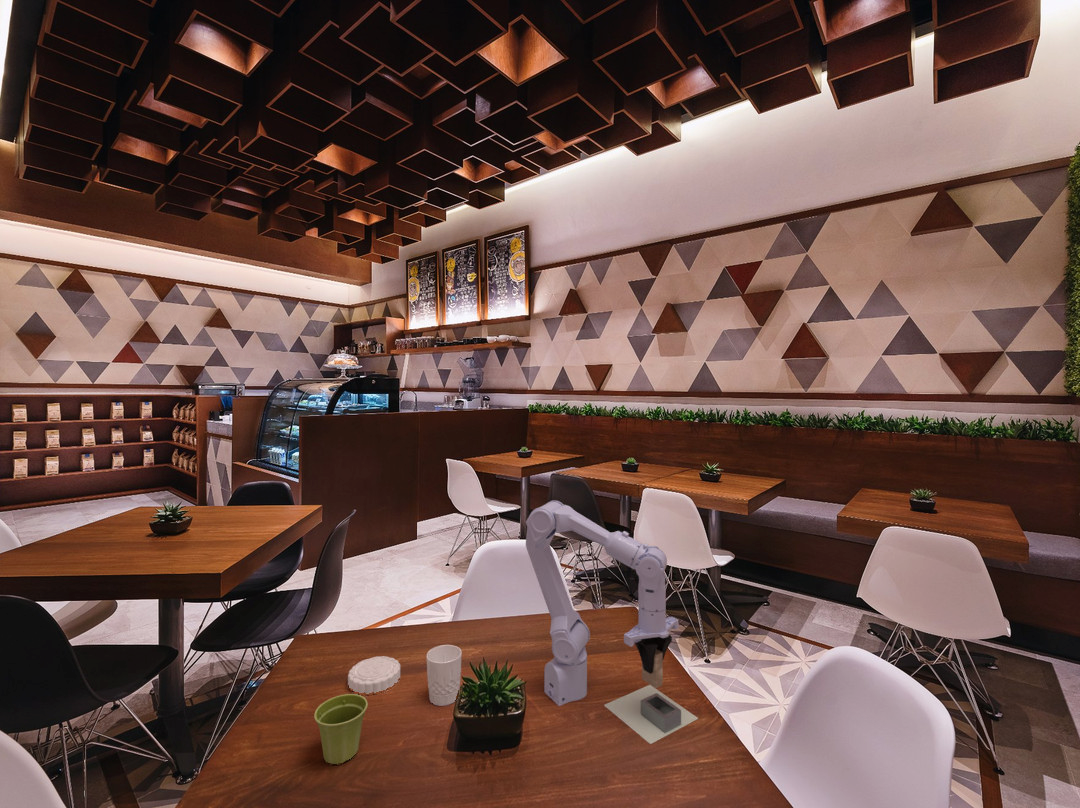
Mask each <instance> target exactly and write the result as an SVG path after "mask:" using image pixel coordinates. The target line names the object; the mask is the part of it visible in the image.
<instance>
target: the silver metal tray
mask: <svg viewBox="0 0 1080 808" xmlns="http://www.w3.org/2000/svg"><path fill="white" fill-rule="evenodd" d="M641 715H642V716H643V717H645V718H646V719H647V720H648V721H650V722H651V723H652V724H653V725H655V726H656V727H657V728H659V729H660V730H661V731H662V732H664V733H666V732H668V731H670V730H672V729H674V728H676V727H678V726H680V725H681V710H680V709H679V708H677V707H676V706H675V705H673V704H672V703H670V702H669V701H667V700H666V699H665V698H663V697H662V696H660V695H659V694H657V693H656V694H653V695H651V696H649V697H647V698H645V699H643V700H641Z"/></svg>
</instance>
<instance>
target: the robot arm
mask: <svg viewBox="0 0 1080 808" xmlns="http://www.w3.org/2000/svg"><path fill="white" fill-rule="evenodd" d="M525 525H526V526H527V527H526V529H527V530H526V537H525V548H526V551H527V552H528V557H529V560H530V562H531V565H532V568H533V569H534V570H533V571H534V574H535V576H536V579H537V582H538V584H539V587H540V590H541V592H542V596H543V598H544V602H545V604H546V607H547V610H548V612H549V616H550V619H551V622H550V630H549V634H550V639H551V651H552V655H553V658H552V659H551V660H550V661H548V662H547V663H546V664H544V676H543V678H544V681H543V682H544V688H543V689H544V691H543V692H544V693H545V695H547V696H548V697H549V698H550V699H551V700H552V701H553V702H554V703H555V704H556V705H557V706H558V707H560V706H563V705H565V704H567V703H570V702H574V701H579V700H582V699H584V698H585V697H586V696H587V694H588V686H587V685H588V655H587V654H588V653H587V650H586V645H587V644H588V643H589V640H590V638H591V634H590V629H589V627H588V625H587V624H586V623H585V622H584V621H583V620H582V618H581V615H580V613H579V612H578V611H576V610H575V609H574V608H573V606H572V604H571V600H570V598H569V595H568V593H567V589H566V587H565V584H564V581H563V578H562V576H561V573H560V571H559V568H558V564H557V561H556V559H555V555H554V553H553V551H552V548H551V542H552V541H553V538H554V536H555V534H556V533H557V534H559V533H564V532H571V531H572V532H574V533H576V534H578V535H580V536H582V537H585V538H586V539H588V540H590V541H592V542H595V543H596V544H598V545H601V546H602V547H604V551H605V553H606V555H607V556H609V557H612V558H613V559H615V560H617V562H620V563H622V564H624V565H625V566H627V567H629V568H631V569H633V570H635V572H636V575H637V576H638V585H637V586H638V589H637V590H638V592H637V593H638V594H637V595H638V598H637V599H638V605H637V606H638V622H637V624H636V625H635V626H633V627H632V628H631V629H630V630H629V631H628V632H625V633H624V634H623V643H624V644H625V645H627V646H629V648H630V647H633V646H634V645H635V647H636V649H637V650H638V653H639V656H640V661H641V665H642V664H643V668H644V670H645V671H647V672H648V673H650V674H651V673H653V668H654V656H655V652H656V649H657V650H659V651H661V652H662V653H663V660H664V659H665V656H666V653H667V650H668V648H669V646H670V645H671V643H672V641H673V637H672V635H671V634H670V633H669V631H671V630H678V629H679V626H680V625H679V619H677V618H676V617H674V616H669V617H667V615H666V611H667V609H666V608H667V607H666V606H667V605H666V604H667V603H666V602H667V600H666V597H667V595H666V594H667V593H666V591H667V589H666V588H667V587H666V578H665V577H666V576H665V575H666V573H665V570H666V568H667V564H668V559H667V555H666V554H665V552H664V551H663V550H662V549H660V548H659V547H658V546H656V545H649V544H647V543H646V542H644V543H642V542H640V541H638V540H637V539H635V538H633V537H630V536H629V535H630V533H629V532H628V531H625V530H624V531H620V530H617V531H614V532H610V531H609V530H607V529H605V528H603V527H602V526H601V525H598V524H597V523H596V522H593V521H592V520H591V519H589V518H587V517H585V516H584V515H582V514H581V513H579V512H577V511H576V510H574V508H573V507H571V506H570V505H567V504H563V502H561V501H559V500H550V501H549V502H547V503H545V504H543V505H542V506H540V507H537V508H535V509H533V510H532V511H531V512H530V514H529V516H528V518H527V519H526V521H525Z"/></svg>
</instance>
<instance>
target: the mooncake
mask: <svg viewBox="0 0 1080 808" xmlns="http://www.w3.org/2000/svg"><path fill="white" fill-rule="evenodd" d="M399 678H400V679H401V663H399V661H398V660H397V659H395V657H389V656H385V655H383V656H382V655H381V656H380V655H379V656H378V655H377V656H374V657H370V658H367V659H363V660H361V661H359V662H357V664H355V665H353V666H352V667H351V669H350V670H349V671H348V675H347V686H348V685H349V688H351V689H353V691H355V692H359V693H364V692H365V693H366V694H369V693H372V692H374V693H376V692H379V691H383V690H386V689H387V688H389V687H392V686H393V685H394V683H397V682H398V683H399V681H398V679H399ZM349 688H348V689H349Z"/></svg>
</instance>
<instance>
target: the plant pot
mask: <svg viewBox="0 0 1080 808" xmlns="http://www.w3.org/2000/svg"><path fill="white" fill-rule="evenodd" d="M367 708H368V700H367V698H366V697H365V696H361V695H358V694H353V693H345V694H341V695H336V696H334V697H330V698H329V699H327V700H325V701H324V702H323V703H321V704H319V705H318V707H317V708H316V710H315V712H314V716H313V717H314V718H313V719H314V720H315V722H316V724H317V727H318V728H319V735H320V741H321V747H322V755H323V759H324V760H325V762H326V763H327V762H328V763H332V764H337V765H339V764H338V763H342V764H343V763H345V762H346V761H350V760H352V759H353V758H354V757H355V756H356V755H357V754H356V752H357V751H359V748H360V746H359V745H360V739H361V731H362V727H363V726H362V725H363V720H364V716H365V714H366V713H365V712H366V711H367ZM357 753H358V752H357ZM355 754H356V755H355ZM354 755H355V756H354ZM353 756H354V757H353ZM352 757H353V758H352ZM351 758H352V759H351ZM349 759H350V760H349ZM328 763H327V764H328ZM332 764H331V765H332Z"/></svg>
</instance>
